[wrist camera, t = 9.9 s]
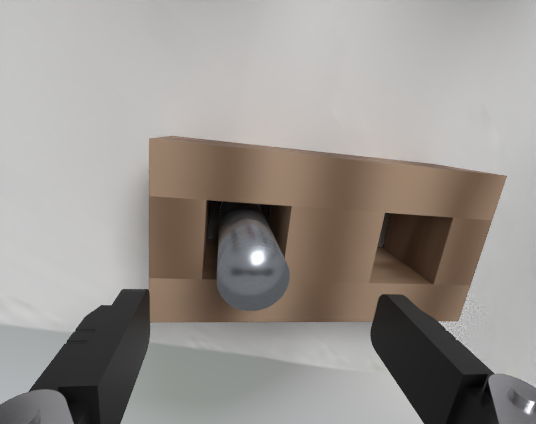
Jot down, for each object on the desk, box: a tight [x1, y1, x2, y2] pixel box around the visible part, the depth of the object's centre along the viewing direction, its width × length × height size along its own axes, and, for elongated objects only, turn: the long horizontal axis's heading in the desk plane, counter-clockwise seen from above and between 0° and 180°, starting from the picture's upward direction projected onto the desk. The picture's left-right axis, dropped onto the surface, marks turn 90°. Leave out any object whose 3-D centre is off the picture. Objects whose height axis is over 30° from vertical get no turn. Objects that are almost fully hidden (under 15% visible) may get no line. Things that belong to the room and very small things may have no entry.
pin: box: [217, 201, 290, 311], centre depth 16 cm, size 3×3×10 cm
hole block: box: [149, 136, 507, 322], centre depth 19 cm, size 20×10×6 cm, turn 84°
